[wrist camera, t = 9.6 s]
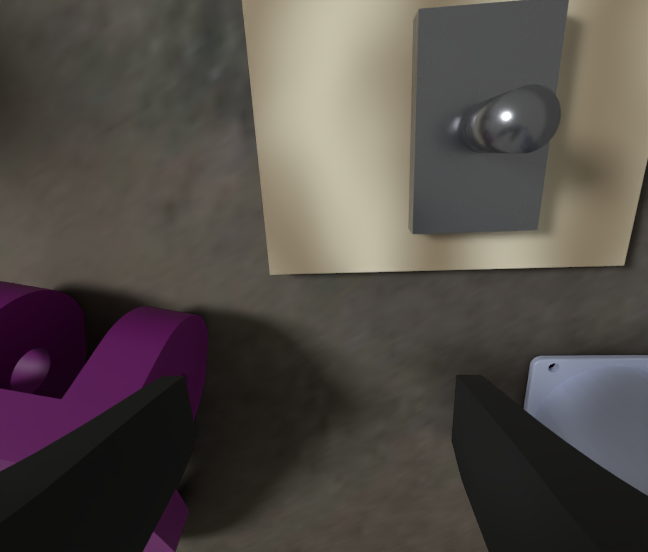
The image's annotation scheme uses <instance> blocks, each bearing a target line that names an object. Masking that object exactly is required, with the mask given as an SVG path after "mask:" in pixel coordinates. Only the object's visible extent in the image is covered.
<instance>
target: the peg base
mask: <svg viewBox="0 0 648 552" xmlns="http://www.w3.org/2000/svg"><path fill="white" fill-rule="evenodd" d="M568 4H569V0H517V1H505V2H493V3H481V4H469V5H457V6H445V7H433V8H421V9H418V11H417V13H416V15H415V18H414V20H413V49H412V91H411V134H410V177H409V220H408V229H409V230H410V232H411V233H412V234H440V233H470V232H499V231H529V230H538V223H539V216H540V208H541V201H542V194H543V187H544V179H545V172H546V165H547V157H548V150H549V143H550V140H551V138H552V137H553V136H554V134H555V133H556V131H557V129H558V126H559V123H560V119H561V107H560V103H559V100H558V98H557V97H556V92H557V84H558V77H559V70H560V62H561V55H562V48H563V40H564V33H565V26H566V19H567V11H568Z"/></svg>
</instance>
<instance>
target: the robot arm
mask: <svg viewBox="0 0 648 552" xmlns="http://www.w3.org/2000/svg"><path fill="white" fill-rule="evenodd" d="M554 363H555V365H554V366H553V367H552V368H549V366H550V365H551V364H554ZM196 438H197V434H196V429H195V424H194V419H193V414H192V409H191V404H190V399H189V394H188V389H187V384H186V379H185V376H162V377H161V378H159V379H157V380H155V381H153V382H151V383H150V384H148V385H146V386H145V387H143V388H141V389H140V390H138V391H136V392H135V393H133V394H132V395H130V396H128V397H127V398H125V399H124V400H122V401H120V402H119V403H117V404H116V405H114V406H112V407H111V408H109V409H108V410H106V411H104V412H103V413H101V414H100V415H98V416H96V417H95V418H93V419H92V420H90V421H88V422H87V423H85V424H83V425H82V426H80V427H78V428H77V429H75V430H73V431H71V432H70V433H68V434H66V435H65V436H63V437H61V438H60V439H58V440H56V441H54V442H53V443H51V444H49V445H48V446H46V447H44V448H42V449H41V450H39V451H37V452H35V453H34V454H32V455H30V456H28V457H26V458H24V459H23V460H21V461H19V462H17V463H15V464H13V465H11V466H9V467H7V468H6V469H4V470H2V471H0V552H143V551H144V549H145V547H146V545H147V543H148V541H149V539H150V537H151V535H152V534H153V532H154V530H155V528H156V526H157V524H158V522H159V520H160V518H161V516H162V514H163V513H164V511H165V509H166V507H167V505H168V503H169V501H170V499H171V497H172V495H173V493H174V491H175V489H176V487H177V485H178V484H179V482H180V480H181V478H182V476H183V473H184V471H185V468H186V466H187V463H188V461H189V458H190V455H191V453H192V450H193V447H194V444H195V441H196ZM452 444H453V448H454V452H455V456H456V460H457V464H458V468H459V472H460V475H461V479H462V482H463V485H464V487H465V490H466V493H467V496H468V498H469V501H470V504H471V506H472V509H473V512H474V514H475V517H476V519H477V522H478V525H479V527H480V530H481V532H482V535H483V538H484V540H485V543H486V546H487V548H488V551H489V552H648V355H580V356H537V357H535V358H534V359H533V360H532V361H531V363H530V368H529V375H528V382H527V389H526V395H525V402H524V409H523V408H522V407H520V406H519V405H518V404H517V403H516V402H514V401H513V400H512V399H511V398H509V397H508V396H507V395H506V394H504V393H503V392H502V391H501V390H499V389H498V388H497V387H496V386H495V385H493V384H492V383H491V382H490V381H488V380H487V379H486V378H484V377H483V376H482V375H456V388H455V401H454V415H453V428H452Z"/></svg>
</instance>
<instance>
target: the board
mask: <svg viewBox="0 0 648 552" xmlns="http://www.w3.org/2000/svg"><path fill="white" fill-rule="evenodd" d="M505 1H517V0H242V5H243V15H244V24H245V34H246V44H247V54H248V63H249V73H250V83H251V93H252V103H253V112H254V122H255V132H256V142H257V152H258V161H259V171H260V181H261V191H262V200H263V210H264V220H265V230H266V240H267V249H268V259H269V269H270V275H277V274H316V273H354V272H393V271H432V270H471V269H509V268H548V267H587V266H624V264H625V259H626V255H627V250H628V246H629V241H630V237H631V232H632V228H633V223H634V218H635V214H636V209H637V205H638V200H639V196H640V191H641V187H642V182H643V178H644V173H645V168H646V164H647V159H648V0H569V4H568V11H567V19H566V26H565V33H564V40H563V48H562V55H561V62H560V70H559V77H558V84H557V92H556V97H557V98H558V100H559V103H560V107H561V119H560V123H559V126H558V129H557V131H556V133H555V134H554V136H553V137H552V138H551V140H550V143H549V150H548V157H547V165H546V172H545V179H544V187H543V194H542V201H541V208H540V216H539V223H538V230H529V231H499V232H470V233H440V234H412V233H411V232H410V230H409V229H408V220H409V177H410V134H411V91H412V49H413V20H414V18H415V15H416V13H417V11H418V9H421V8H433V7H445V6H457V5H469V4H481V3H493V2H505Z"/></svg>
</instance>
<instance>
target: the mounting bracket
mask: <svg viewBox="0 0 648 552" xmlns="http://www.w3.org/2000/svg"><path fill="white" fill-rule="evenodd" d="M207 347H208V331H207V326H206V324H205V321H204V320H203V318H202V317H201V316H199V315H195V314H189V313H183V312H178V311H172V310H166V309H160V308H154V307H148V306H142V307H138V308H135V309H133V310H131V311H130V312H128V313H127V314H125V315H124V316H123V317H122V318H120V319H119V320H118V321H117V322H116V323H115V324H114V325H113V326H112V328H111V329H110V330H109V331H108V332H107V334H106V335H105V337H104V338H103V339H102V341H101V342H100V344H99V345H98V347H97V348H96V349H95V351H94V352H93V354H92V355H91V357H90V358H89V360H88V361H87V363H86V364H85V360H86V355H87V353H86V338H85V324H84V313H83V311H82V309H81V307H80V306H79V305H78V303H77V302H76V301H75V300H74V299H73V298H72V297H70V296H69V295H67V294H65V293H63V292H60V291H56V290H50V289H44V288H38V287H33V286H27V285H21V284H15V283H9V282H2V281H0V471H2V470H4V469H6V468H7V467H9V466H11V465H13V464H15V463H17V462H19V461H21V460H23V459H24V458H26V457H28V456H30V455H32V454H34V453H35V452H37V451H39V450H41V449H42V448H44V447H46V446H48V445H49V444H51V443H53V442H54V441H56V440H58V439H60V438H61V437H63V436H65V435H66V434H68V433H70V432H71V431H73V430H75V429H77V428H78V427H80V426H82V425H83V424H85V423H87V422H88V421H90V420H92V419H93V418H95V417H96V416H98V415H100V414H101V413H103V412H104V411H106V410H108V409H109V408H111V407H112V406H114V405H116V404H117V403H119V402H120V401H122V400H124V399H125V398H127V397H128V396H130V395H132V394H133V393H135V392H136V391H138V390H140V389H141V388H143V387H145V386H146V385H148V384H150V383H151V382H153V381H155V380H157V379H159V378H161V377H162V376H185V379H186V384H187V389H188V394H189V399H190V404H191V409H192V414H193V419H194V420H195V417H196V414H197V410H198V407H199V404H200V400H201V396H202V392H203V388H204V383H205V378H206V364H207ZM84 364H85V366H84ZM188 513H189V510H188V508H187V506H186V504H185V503H184V501H183V499H182V498H181V496H180V494H179V493H178V491H177V489H175V491H174V493H173V495H172V497H171V499H170V501H169V503H168V505H167V507H166V509H165V511H164V513H163V514H162V516H161V518H160V520H159V522H158V524H157V526H156V528H155V530H154V532H153V534H152V535H151V537H150V539H149V541H148V543H147V545H146V547H145V549H144V551H143V552H176V549H177V546H178V543H179V540H180V537H181V534H182V531H183V528H184V525H185V522H186V519H187V516H188Z"/></svg>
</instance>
